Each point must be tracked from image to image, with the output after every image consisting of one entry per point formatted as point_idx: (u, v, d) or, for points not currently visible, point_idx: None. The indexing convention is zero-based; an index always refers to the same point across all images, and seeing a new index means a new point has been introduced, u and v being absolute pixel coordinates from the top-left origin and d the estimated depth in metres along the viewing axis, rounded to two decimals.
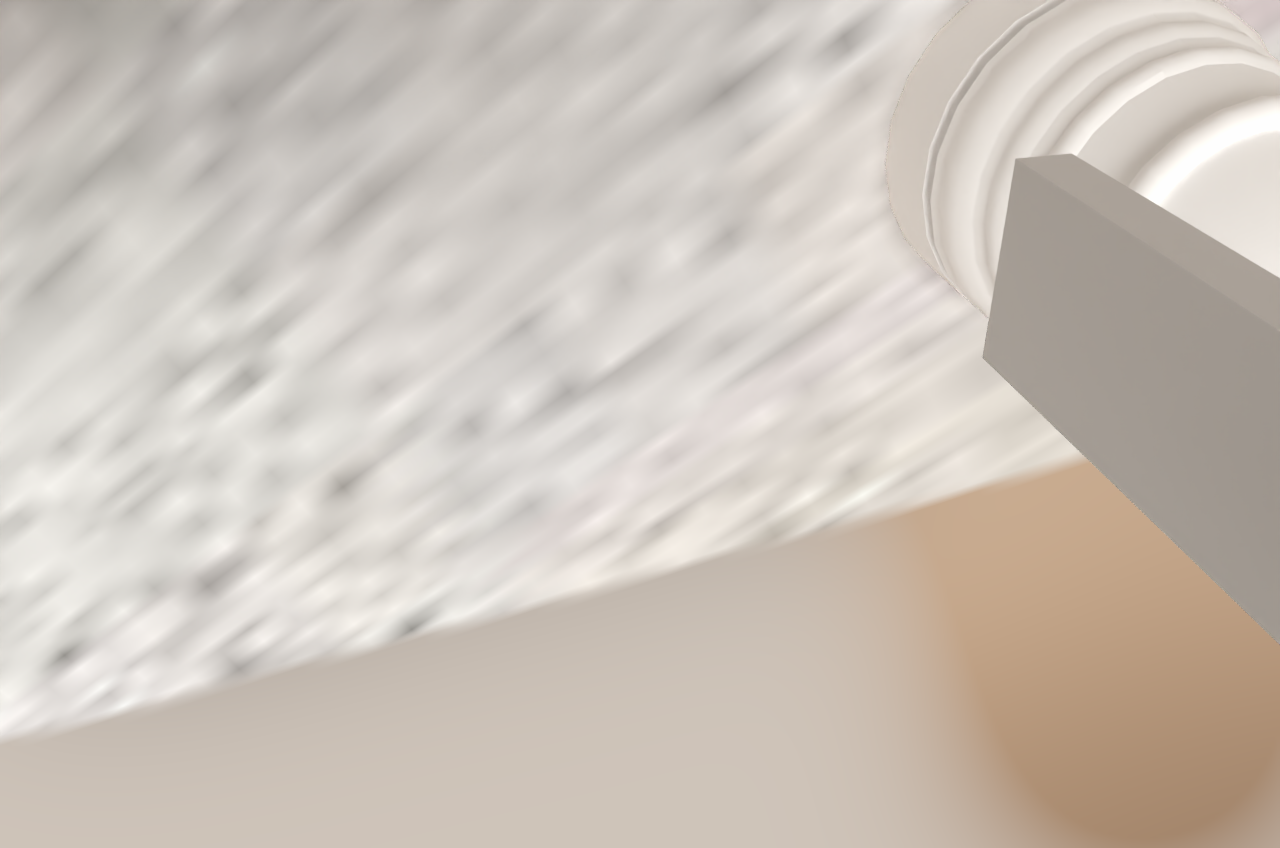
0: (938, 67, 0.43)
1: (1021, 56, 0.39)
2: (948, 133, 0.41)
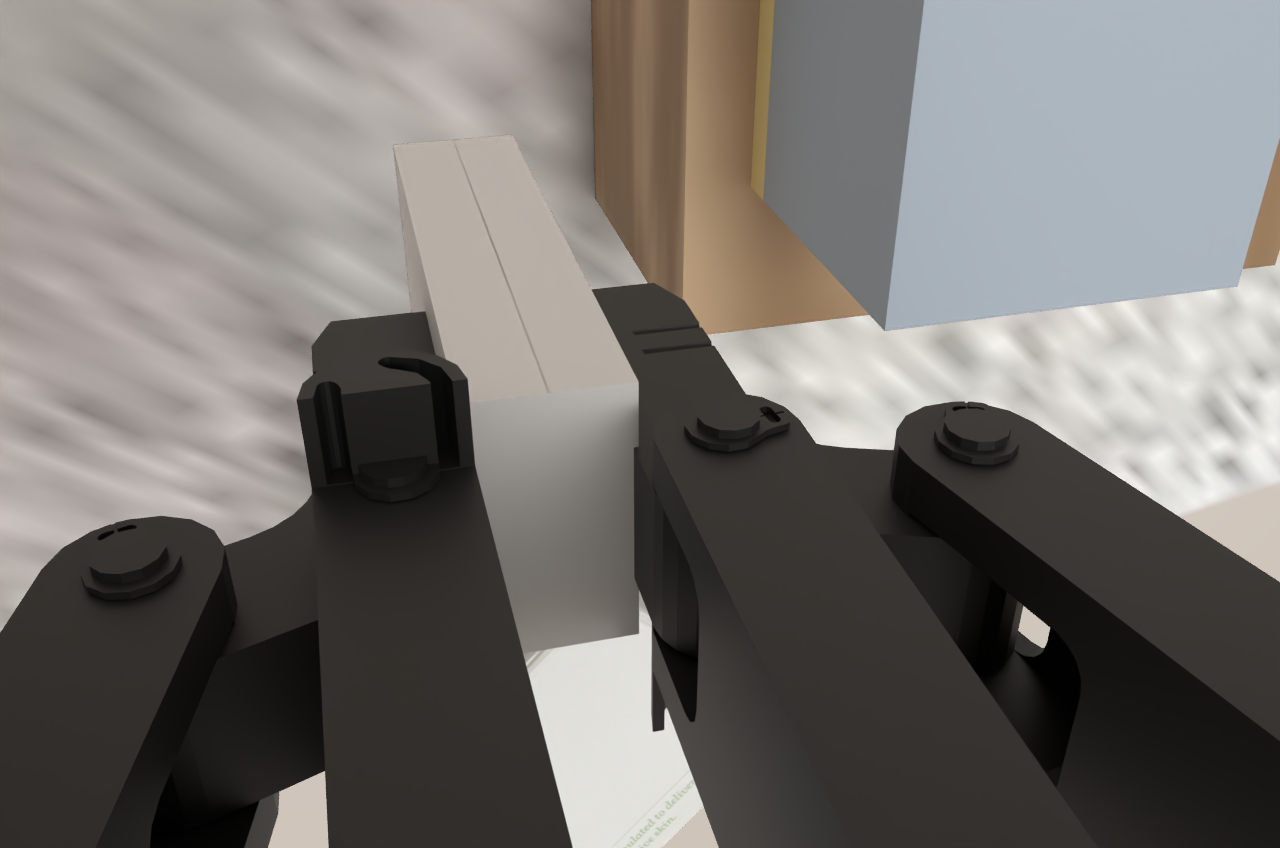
0: None
1: None
2: None
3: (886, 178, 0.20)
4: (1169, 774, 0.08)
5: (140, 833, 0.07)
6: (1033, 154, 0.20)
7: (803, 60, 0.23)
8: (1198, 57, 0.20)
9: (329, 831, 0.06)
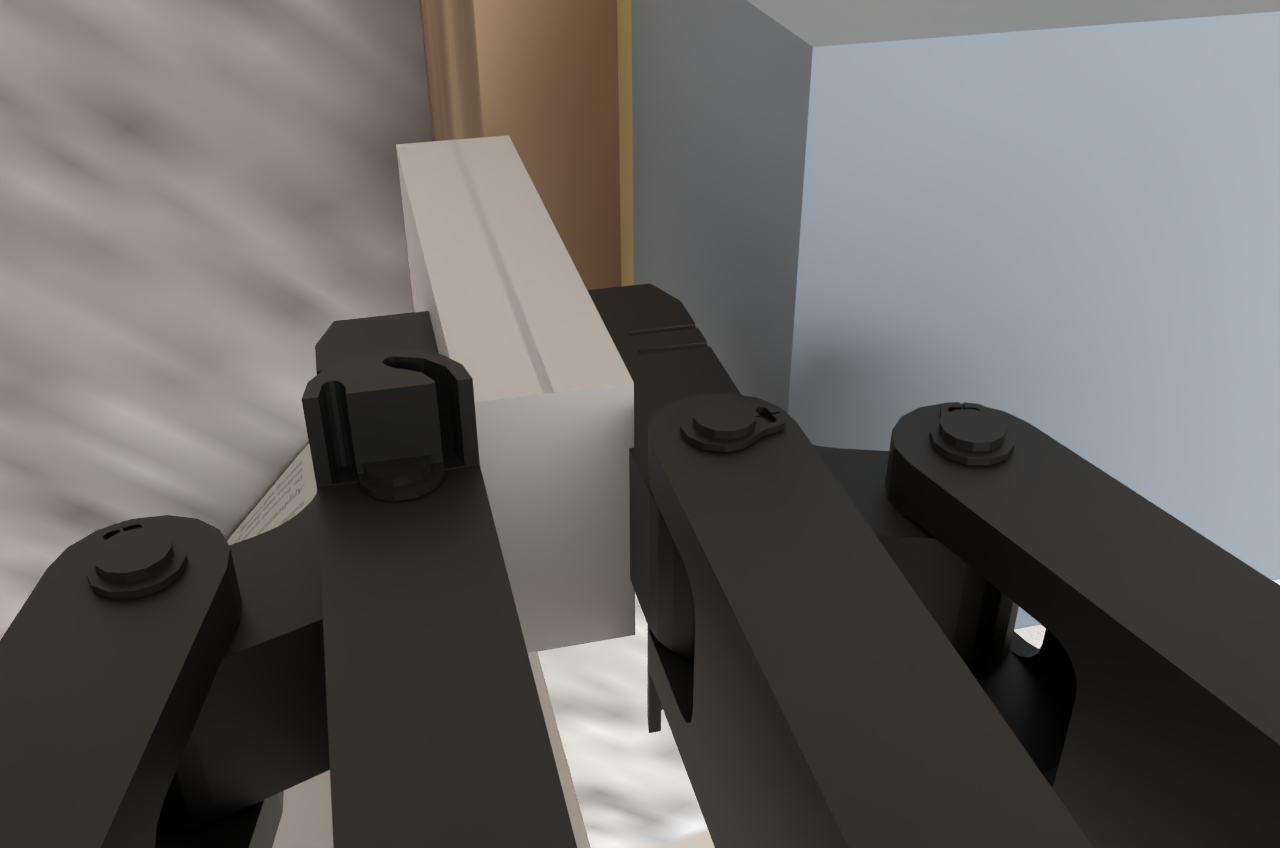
0: None
1: None
2: None
3: None
4: (1164, 775, 0.08)
5: (144, 833, 0.07)
6: None
7: (665, 240, 0.16)
8: (1250, 277, 0.12)
9: (334, 831, 0.06)
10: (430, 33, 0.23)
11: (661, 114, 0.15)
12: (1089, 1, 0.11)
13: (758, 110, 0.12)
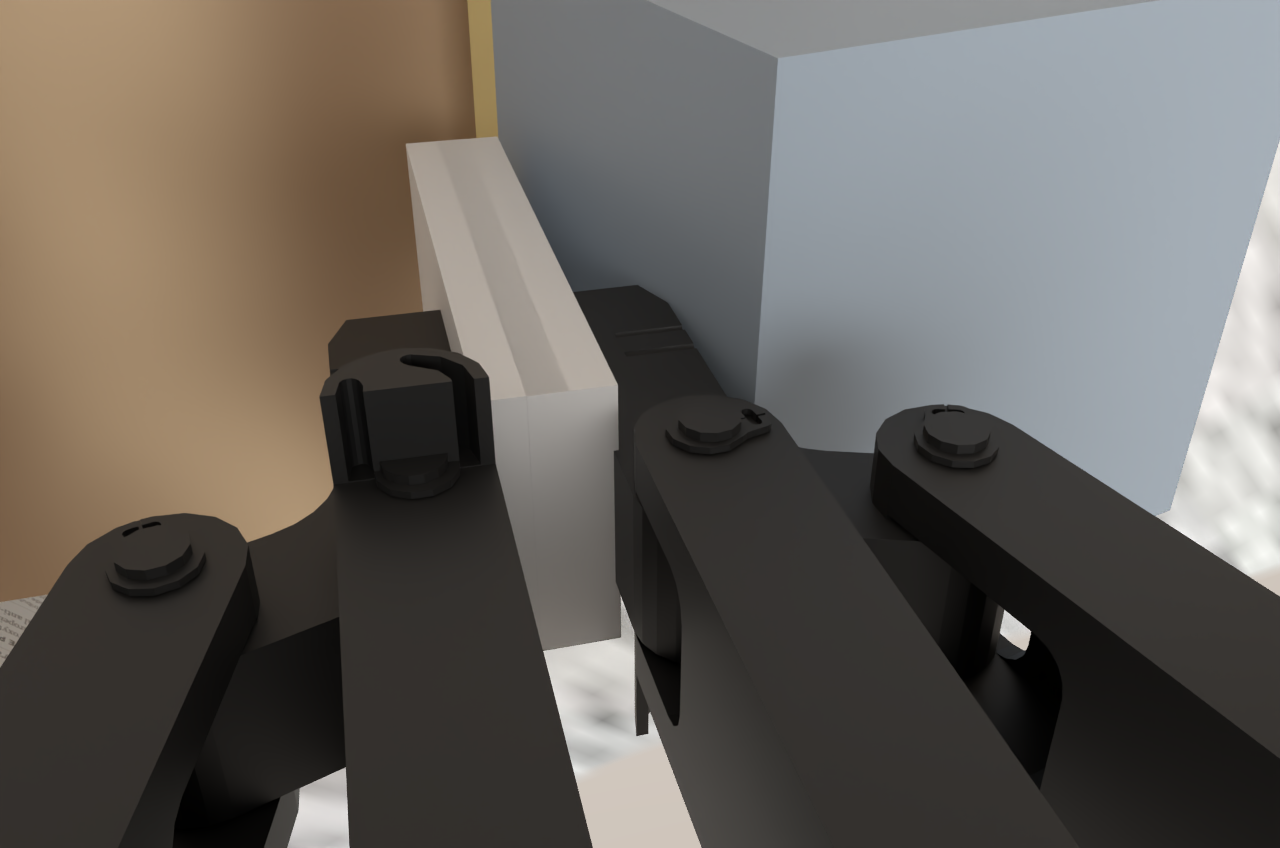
0: None
1: None
2: None
3: None
4: (1151, 778, 0.08)
5: (162, 830, 0.07)
6: None
7: (556, 257, 0.15)
8: (1134, 245, 0.13)
9: (349, 827, 0.06)
10: None
11: (544, 130, 0.15)
12: None
13: (695, 122, 0.11)
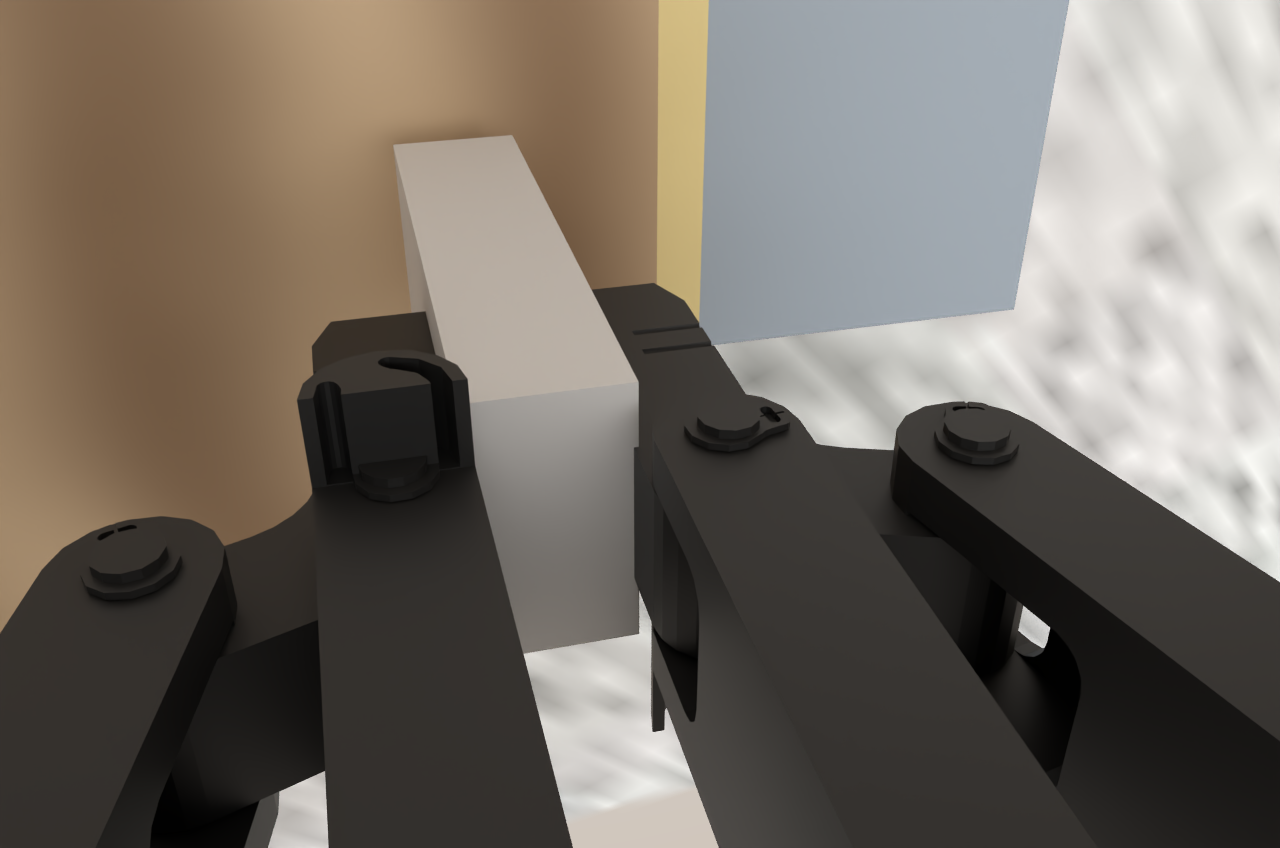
0: None
1: None
2: None
3: (1007, 184, 0.22)
4: (1169, 775, 0.08)
5: (139, 834, 0.07)
6: None
7: (802, 152, 0.20)
8: None
9: (328, 832, 0.06)
10: None
11: (796, 58, 0.19)
12: None
13: None
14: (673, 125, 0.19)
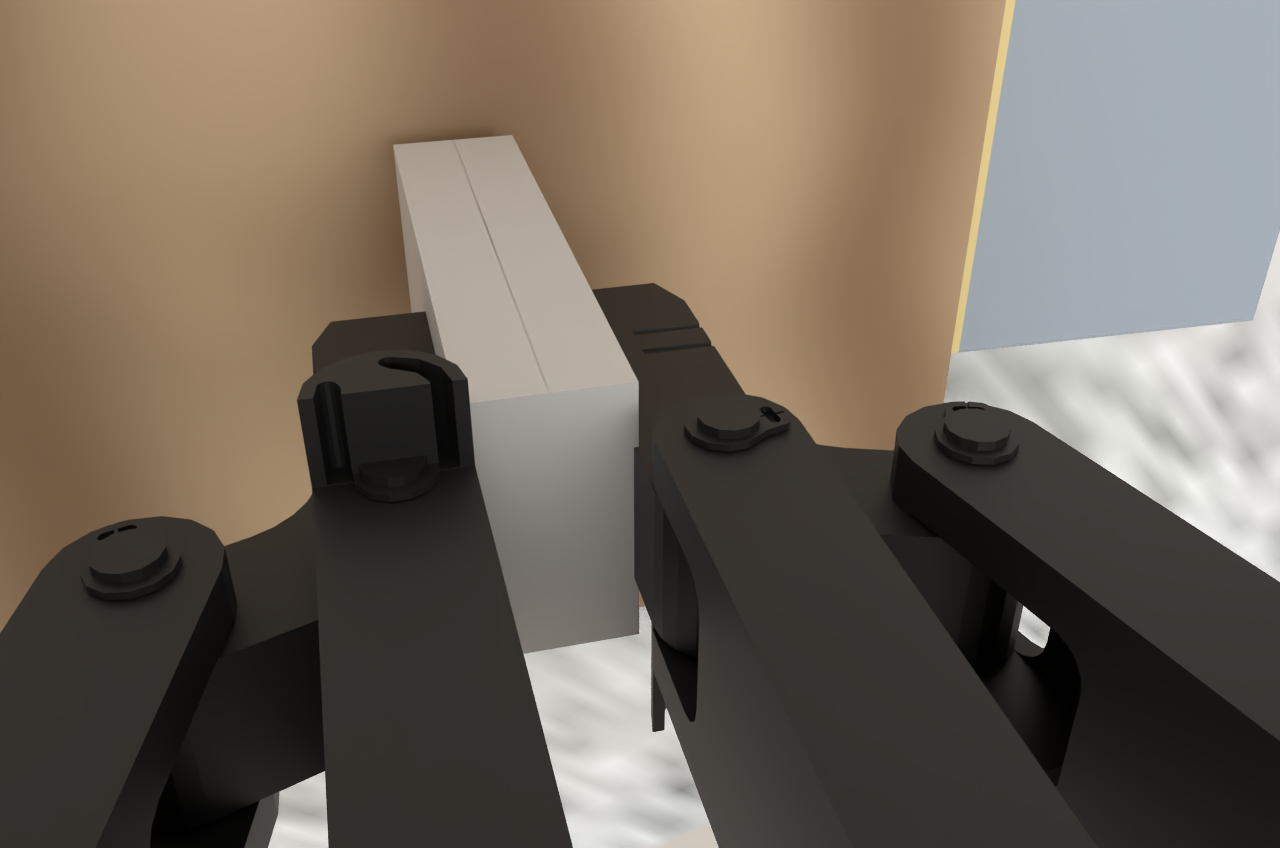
0: None
1: None
2: None
3: (1262, 198, 0.22)
4: (1169, 774, 0.08)
5: (140, 835, 0.07)
6: None
7: (1078, 165, 0.21)
8: None
9: (329, 831, 0.06)
10: None
11: (1085, 74, 0.20)
12: None
13: None
14: None
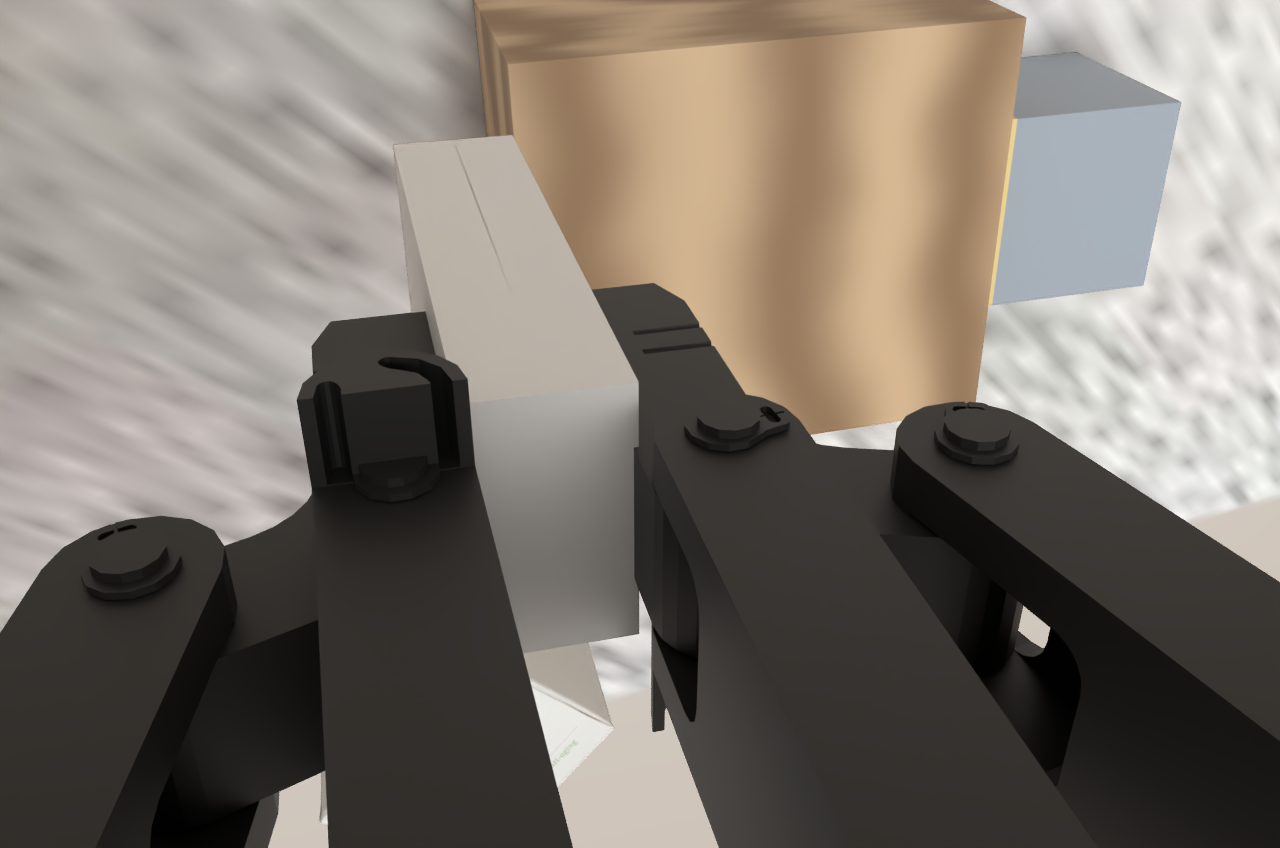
0: None
1: None
2: None
3: (1142, 224, 0.45)
4: (1169, 775, 0.08)
5: (139, 834, 0.07)
6: None
7: (1048, 213, 0.44)
8: None
9: (329, 832, 0.06)
10: None
11: (1048, 171, 0.43)
12: (1113, 80, 0.45)
13: (1143, 131, 0.43)
14: None
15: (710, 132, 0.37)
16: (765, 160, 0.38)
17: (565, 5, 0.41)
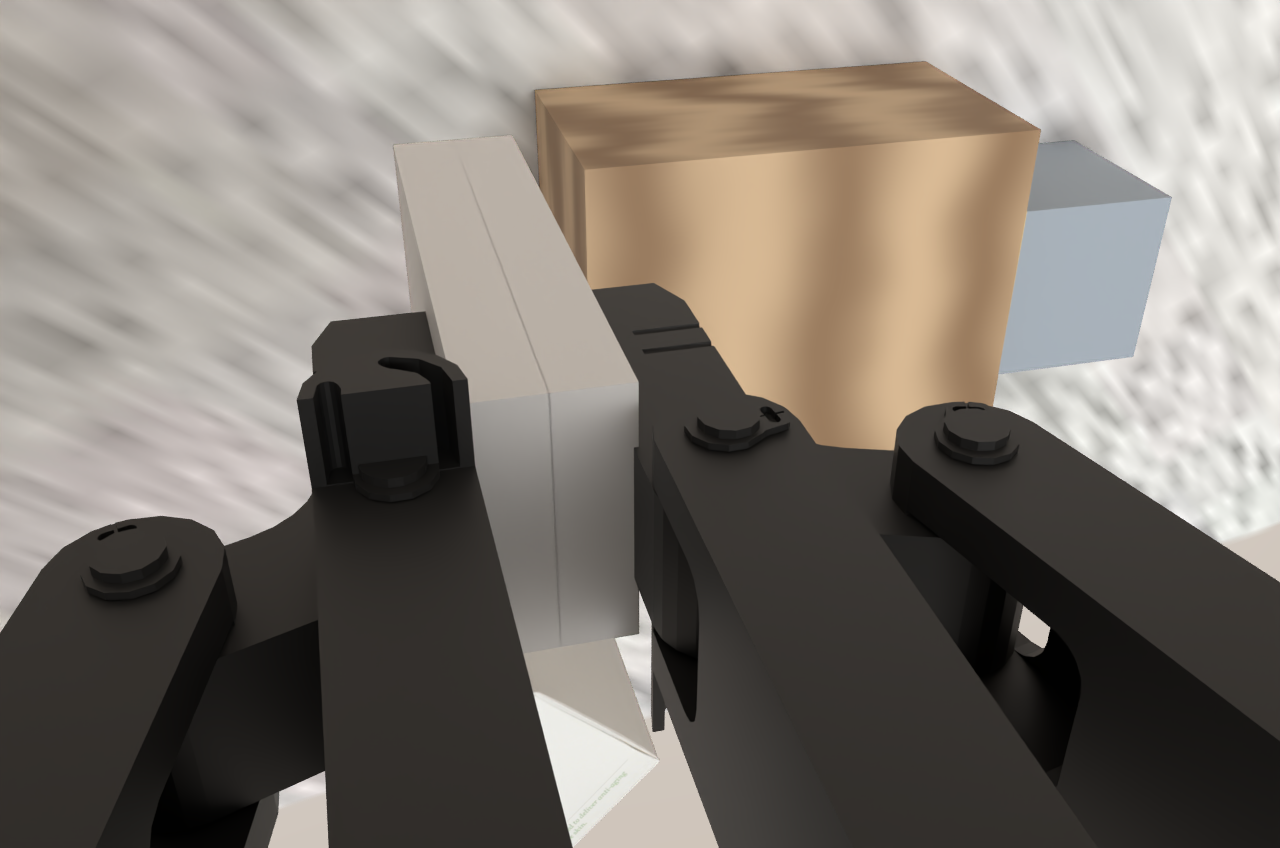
0: None
1: None
2: None
3: (1133, 303, 0.49)
4: (1169, 775, 0.08)
5: (139, 834, 0.07)
6: None
7: (1050, 293, 0.48)
8: None
9: (329, 831, 0.06)
10: None
11: (1052, 257, 0.47)
12: (1109, 172, 0.49)
13: (1137, 222, 0.47)
14: None
15: (760, 228, 0.41)
16: (807, 252, 0.42)
17: (622, 102, 0.45)
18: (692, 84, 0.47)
